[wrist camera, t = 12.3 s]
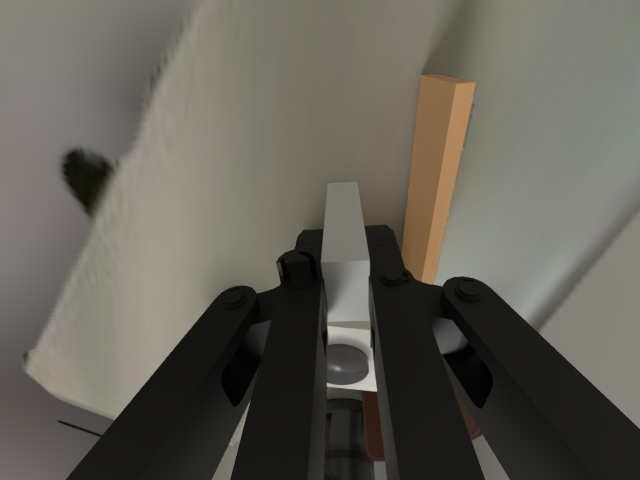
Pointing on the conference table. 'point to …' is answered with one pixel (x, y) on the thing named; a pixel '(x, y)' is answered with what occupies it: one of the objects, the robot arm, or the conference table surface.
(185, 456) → the robot arm
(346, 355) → the camera housing
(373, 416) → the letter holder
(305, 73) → the conference table surface
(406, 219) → the side door
